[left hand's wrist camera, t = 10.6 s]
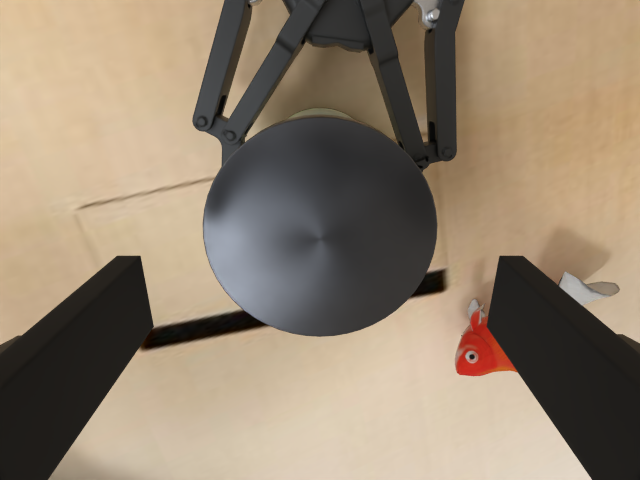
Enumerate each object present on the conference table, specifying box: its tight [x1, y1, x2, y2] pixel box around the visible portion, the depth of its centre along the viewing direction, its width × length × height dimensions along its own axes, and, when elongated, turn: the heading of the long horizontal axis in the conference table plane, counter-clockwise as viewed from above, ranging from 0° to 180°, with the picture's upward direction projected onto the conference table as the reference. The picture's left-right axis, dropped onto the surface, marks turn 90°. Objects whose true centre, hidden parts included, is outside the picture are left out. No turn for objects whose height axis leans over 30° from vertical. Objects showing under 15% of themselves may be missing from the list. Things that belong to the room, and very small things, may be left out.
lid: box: [203, 114, 437, 337], centre depth 18 cm, size 11×11×2 cm
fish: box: [455, 271, 620, 376], centre depth 34 cm, size 11×16×10 cm
